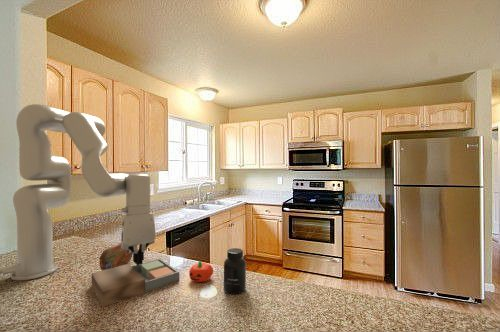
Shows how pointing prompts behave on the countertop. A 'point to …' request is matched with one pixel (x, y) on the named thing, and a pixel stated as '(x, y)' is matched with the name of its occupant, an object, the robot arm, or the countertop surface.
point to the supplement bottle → (234, 272)
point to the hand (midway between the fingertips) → (138, 263)
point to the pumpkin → (200, 272)
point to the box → (160, 280)
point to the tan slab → (117, 284)
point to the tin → (114, 257)
